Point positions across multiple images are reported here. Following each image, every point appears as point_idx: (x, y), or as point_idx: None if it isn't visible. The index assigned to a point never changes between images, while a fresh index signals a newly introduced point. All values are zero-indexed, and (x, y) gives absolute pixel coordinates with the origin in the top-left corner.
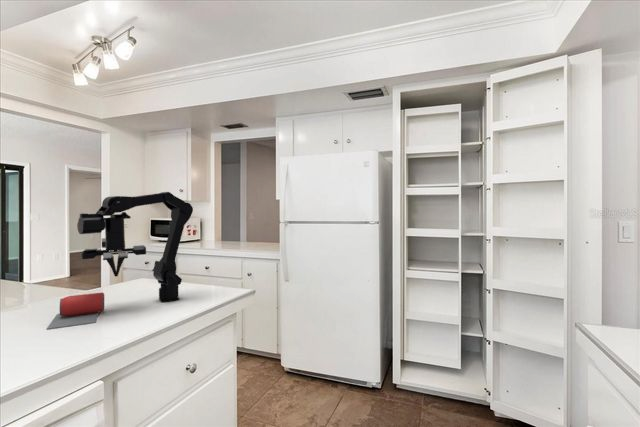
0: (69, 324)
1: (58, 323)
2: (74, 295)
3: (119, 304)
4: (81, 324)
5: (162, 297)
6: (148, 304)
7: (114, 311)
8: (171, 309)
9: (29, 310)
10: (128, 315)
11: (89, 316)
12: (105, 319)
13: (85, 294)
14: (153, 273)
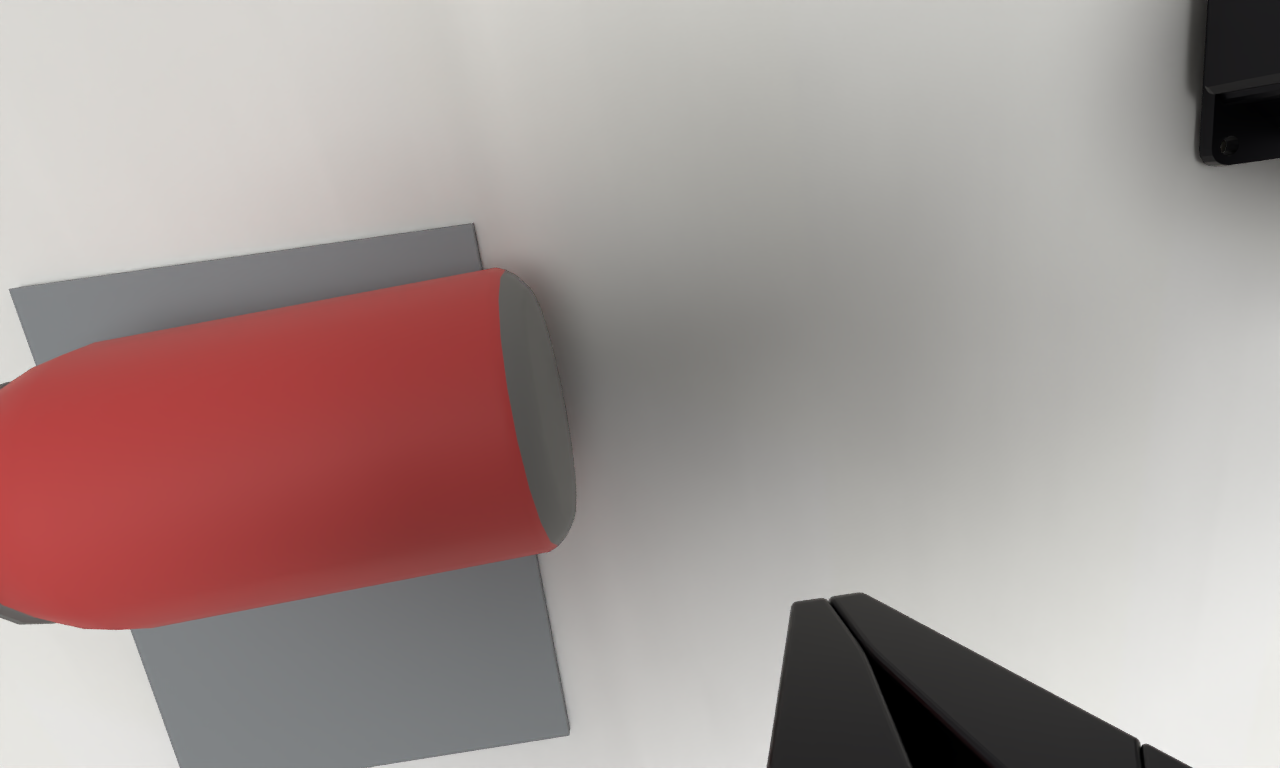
0: (350, 740)
1: (225, 677)
2: (95, 520)
3: (677, 36)
4: (458, 750)
5: (1268, 96)
6: (1038, 200)
7: (671, 385)
8: (1247, 526)
9: None
10: (835, 593)
11: None
12: (636, 652)
13: (261, 502)
14: None
